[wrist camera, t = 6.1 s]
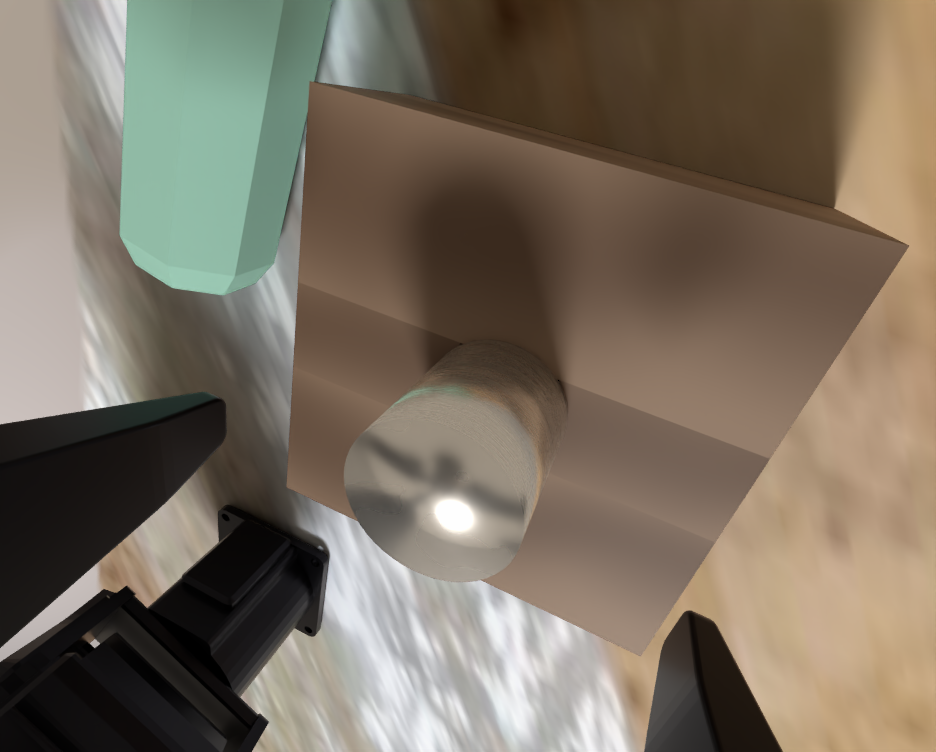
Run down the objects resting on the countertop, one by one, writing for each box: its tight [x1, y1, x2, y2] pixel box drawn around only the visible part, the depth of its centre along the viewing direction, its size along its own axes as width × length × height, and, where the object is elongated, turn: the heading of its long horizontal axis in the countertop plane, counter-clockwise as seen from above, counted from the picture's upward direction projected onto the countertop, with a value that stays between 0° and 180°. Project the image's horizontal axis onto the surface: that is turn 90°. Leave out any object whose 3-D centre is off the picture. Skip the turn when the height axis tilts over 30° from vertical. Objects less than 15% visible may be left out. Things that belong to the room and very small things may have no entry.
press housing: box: [287, 81, 909, 656], centre depth 15 cm, size 12×12×5 cm
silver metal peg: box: [344, 339, 567, 582], centre depth 13 cm, size 4×4×8 cm
